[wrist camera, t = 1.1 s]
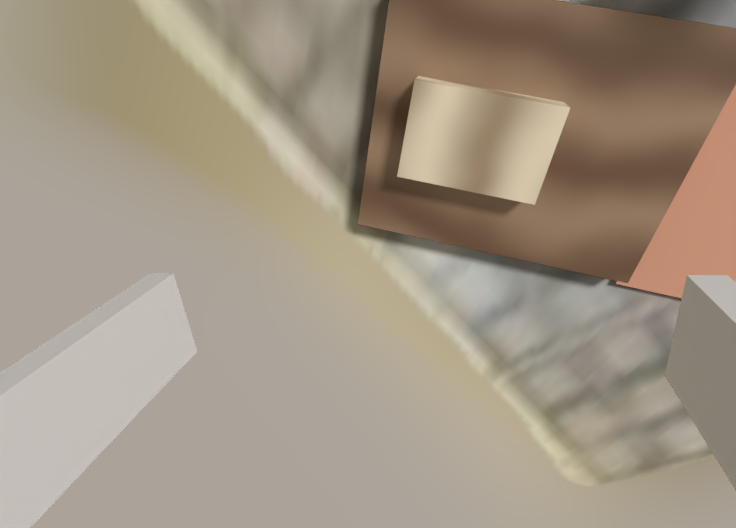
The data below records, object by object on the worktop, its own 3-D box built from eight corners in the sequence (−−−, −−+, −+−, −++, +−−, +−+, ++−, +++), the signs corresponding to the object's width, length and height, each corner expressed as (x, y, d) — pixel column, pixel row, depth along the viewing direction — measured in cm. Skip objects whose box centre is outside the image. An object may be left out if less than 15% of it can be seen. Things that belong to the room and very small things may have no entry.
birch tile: (401, 167, 30) (397, 176, 29) (418, 75, 27) (414, 79, 25) (531, 194, 29) (534, 204, 28) (563, 101, 26) (570, 107, 24)
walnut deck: (397, -23, 27) (392, -25, 25) (743, 31, 24) (763, 32, 23) (363, 213, 35) (357, 223, 33) (619, 269, 33) (627, 283, 31)
